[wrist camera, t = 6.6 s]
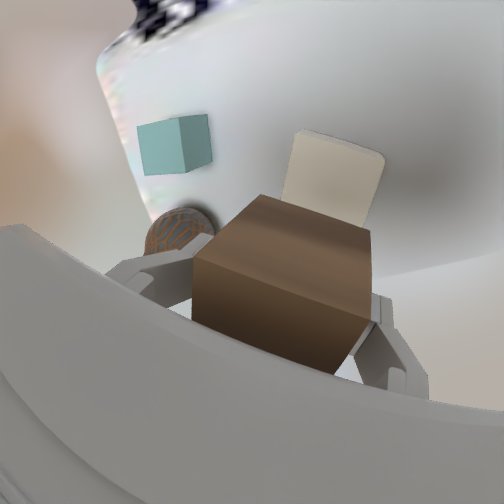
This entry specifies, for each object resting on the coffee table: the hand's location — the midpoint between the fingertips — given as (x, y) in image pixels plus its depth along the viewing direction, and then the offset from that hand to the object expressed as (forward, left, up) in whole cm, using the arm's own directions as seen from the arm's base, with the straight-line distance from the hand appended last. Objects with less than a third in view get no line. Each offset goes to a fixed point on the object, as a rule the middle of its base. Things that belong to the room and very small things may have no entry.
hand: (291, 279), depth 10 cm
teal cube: (0, -15, -16) cm, 22 cm away
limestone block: (0, 0, -16) cm, 16 cm away
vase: (+10, -13, -16) cm, 23 cm away
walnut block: (0, 0, -2) cm, 2 cm away
